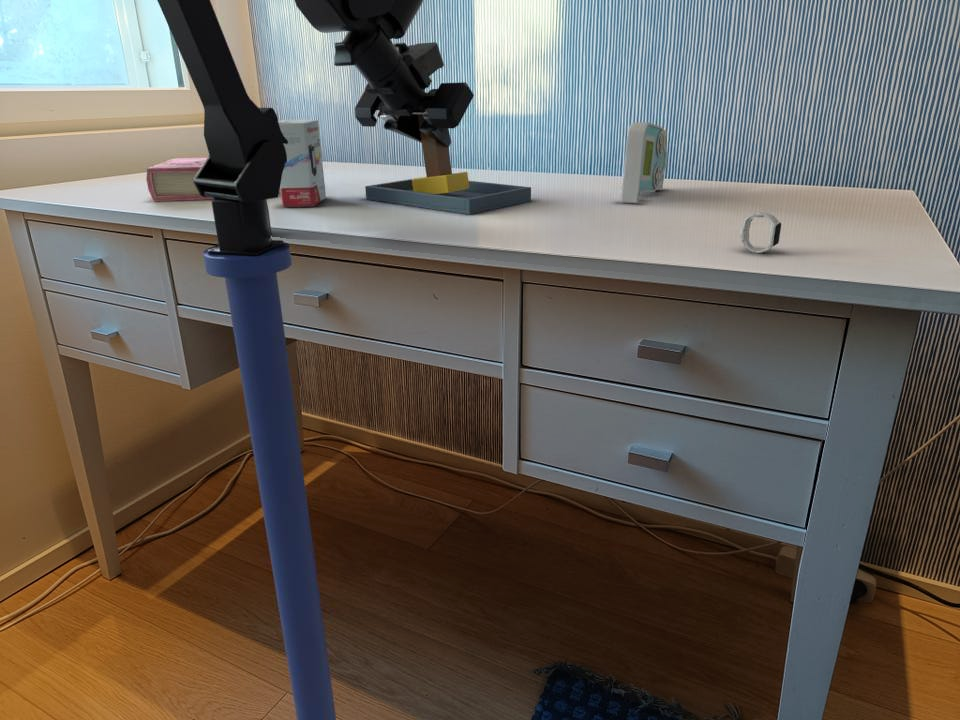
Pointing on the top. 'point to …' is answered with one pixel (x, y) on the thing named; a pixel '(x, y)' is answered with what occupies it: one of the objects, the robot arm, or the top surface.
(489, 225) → the top surface
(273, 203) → the top surface
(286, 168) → the ink box
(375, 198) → the tray
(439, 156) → the sponge brush
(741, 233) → the smartwatch
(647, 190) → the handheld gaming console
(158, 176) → the book
